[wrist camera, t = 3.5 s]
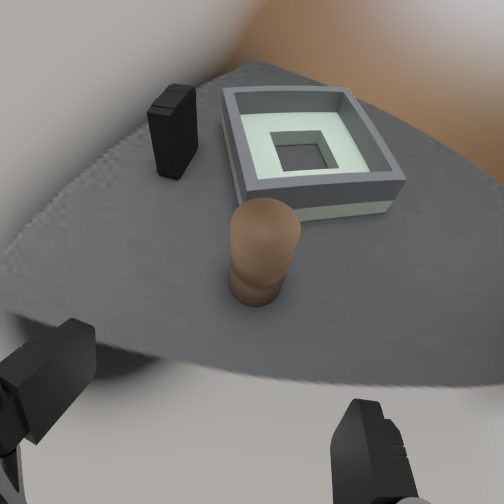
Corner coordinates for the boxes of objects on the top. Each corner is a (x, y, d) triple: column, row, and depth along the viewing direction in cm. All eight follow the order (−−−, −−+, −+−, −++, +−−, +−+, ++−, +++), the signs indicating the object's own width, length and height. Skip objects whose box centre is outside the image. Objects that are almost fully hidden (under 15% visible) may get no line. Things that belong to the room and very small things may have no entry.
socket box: (337, 120, 36) (347, 87, 32) (385, 212, 30) (406, 179, 25) (222, 124, 34) (222, 88, 30) (243, 228, 28) (247, 190, 23)
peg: (274, 256, 27) (291, 194, 20) (285, 302, 25) (309, 251, 18) (225, 263, 26) (225, 201, 19) (234, 310, 24) (237, 261, 17)
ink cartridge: (179, 144, 32) (172, 80, 25) (198, 148, 32) (195, 83, 25) (157, 176, 30) (144, 109, 23) (178, 181, 30) (169, 113, 23)
